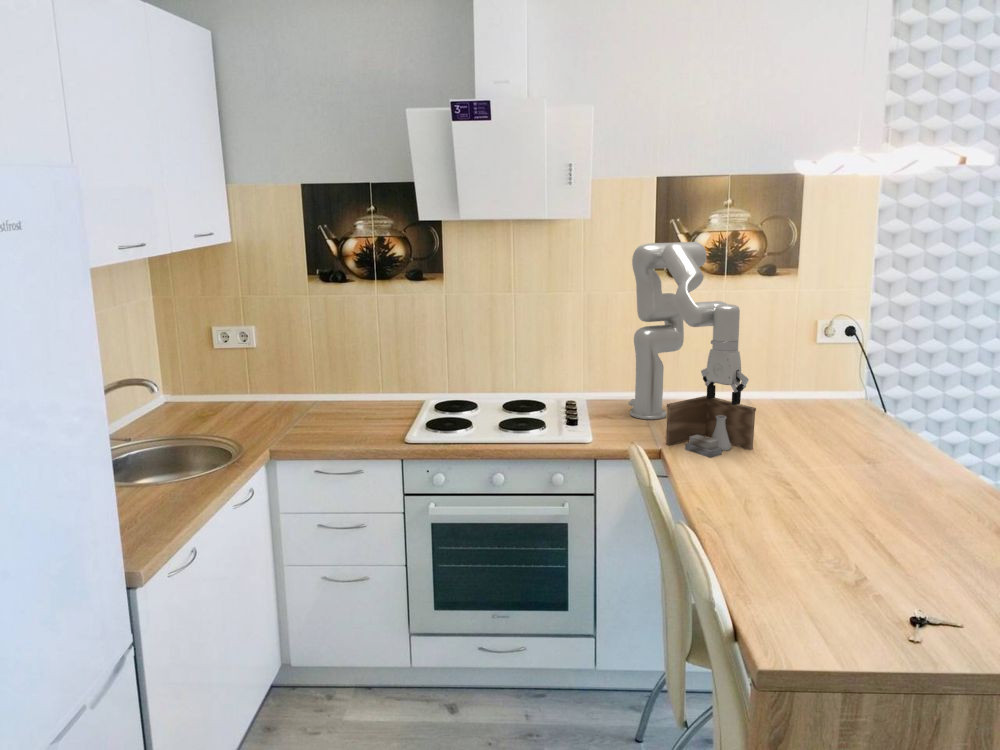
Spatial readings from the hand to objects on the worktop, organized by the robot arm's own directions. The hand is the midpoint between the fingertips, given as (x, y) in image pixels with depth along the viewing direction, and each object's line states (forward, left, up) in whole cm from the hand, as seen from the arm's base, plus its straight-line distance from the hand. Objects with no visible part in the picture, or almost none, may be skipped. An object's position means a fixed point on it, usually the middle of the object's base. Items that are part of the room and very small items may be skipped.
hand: (723, 401), depth 260 cm
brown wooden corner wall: (-3, -2, -15) cm, 15 cm away
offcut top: (-1, -7, -13) cm, 15 cm away
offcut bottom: (-1, -7, -15) cm, 17 cm away
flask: (-1, 0, -15) cm, 15 cm away
